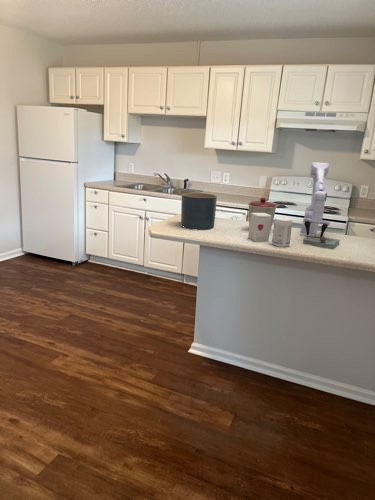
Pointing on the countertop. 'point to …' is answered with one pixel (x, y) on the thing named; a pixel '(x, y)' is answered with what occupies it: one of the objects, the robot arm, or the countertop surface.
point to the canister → (262, 208)
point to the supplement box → (259, 227)
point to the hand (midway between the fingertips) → (314, 235)
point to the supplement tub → (282, 231)
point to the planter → (198, 210)
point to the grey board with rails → (329, 242)
